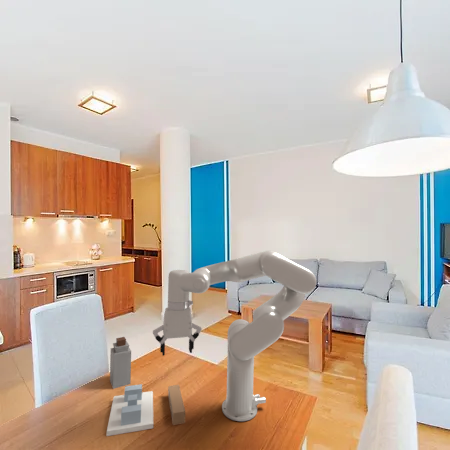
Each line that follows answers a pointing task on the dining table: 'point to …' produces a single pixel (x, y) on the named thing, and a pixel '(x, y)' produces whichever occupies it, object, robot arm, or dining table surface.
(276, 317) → the robot arm
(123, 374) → the perfume bottle
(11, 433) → the dining table surface
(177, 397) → the long tan plank
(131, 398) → the stand
